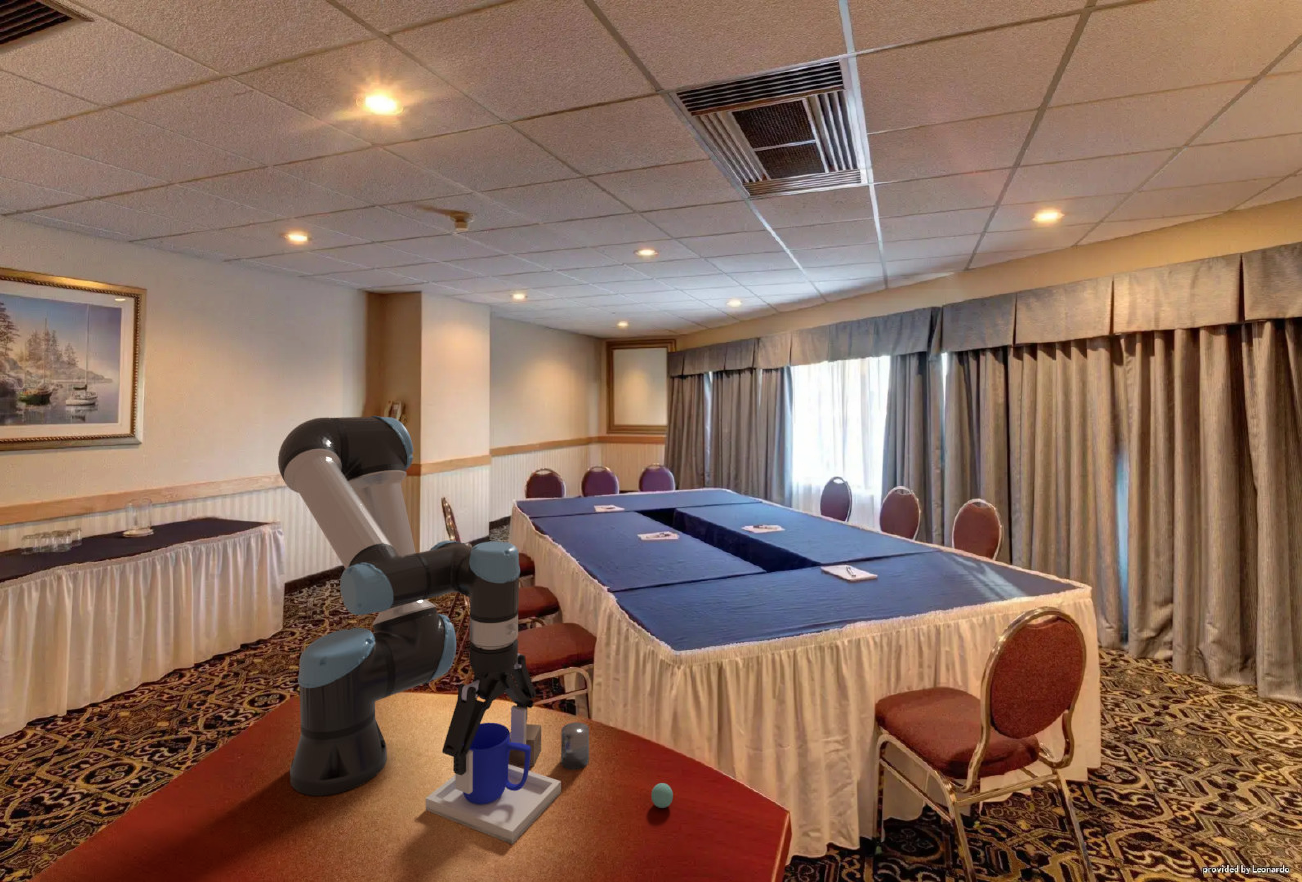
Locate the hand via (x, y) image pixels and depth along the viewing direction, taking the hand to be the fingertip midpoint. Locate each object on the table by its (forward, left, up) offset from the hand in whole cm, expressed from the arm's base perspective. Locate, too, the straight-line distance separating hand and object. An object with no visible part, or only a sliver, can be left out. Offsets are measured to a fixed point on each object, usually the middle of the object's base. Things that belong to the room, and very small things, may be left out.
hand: (492, 765), depth 99 cm
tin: (+6, +15, -6) cm, 17 cm away
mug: (0, 0, -5) cm, 5 cm away
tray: (0, 0, -6) cm, 6 cm away
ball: (+25, +11, -6) cm, 28 cm away
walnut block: (-3, +12, -6) cm, 13 cm away
